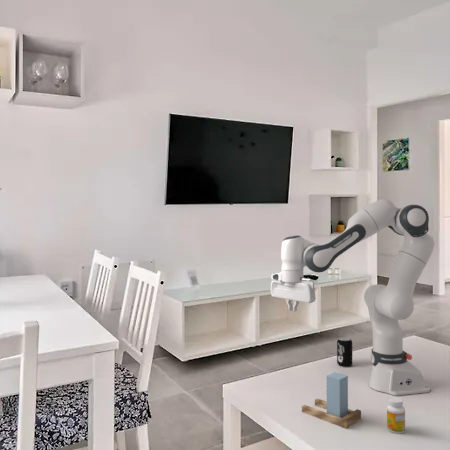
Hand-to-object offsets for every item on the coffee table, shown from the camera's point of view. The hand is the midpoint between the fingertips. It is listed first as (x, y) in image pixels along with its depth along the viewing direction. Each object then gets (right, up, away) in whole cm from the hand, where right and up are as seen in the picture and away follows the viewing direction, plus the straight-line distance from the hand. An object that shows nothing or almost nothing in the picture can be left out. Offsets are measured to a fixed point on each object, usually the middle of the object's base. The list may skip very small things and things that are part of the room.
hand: (292, 310), depth 188 cm
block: (+11, -30, -30) cm, 44 cm away
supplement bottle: (+27, -31, -39) cm, 57 cm away
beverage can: (+26, -28, +21) cm, 44 cm away
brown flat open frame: (+8, -30, -28) cm, 42 cm away
